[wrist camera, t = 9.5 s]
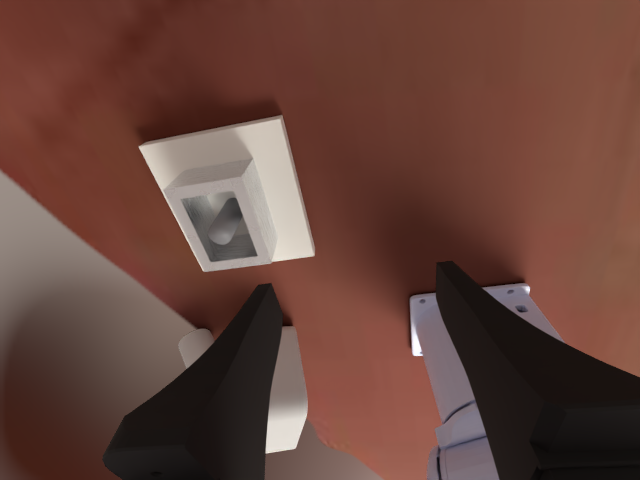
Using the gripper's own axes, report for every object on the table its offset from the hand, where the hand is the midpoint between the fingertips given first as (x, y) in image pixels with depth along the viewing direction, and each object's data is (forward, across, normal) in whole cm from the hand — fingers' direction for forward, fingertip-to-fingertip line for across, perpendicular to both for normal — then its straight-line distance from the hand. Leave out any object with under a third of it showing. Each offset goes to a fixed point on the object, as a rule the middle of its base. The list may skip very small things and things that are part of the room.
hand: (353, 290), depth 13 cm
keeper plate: (+9, +8, -1) cm, 12 cm away
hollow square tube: (+8, +8, -1) cm, 11 cm away
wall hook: (+10, +12, +14) cm, 21 cm away
